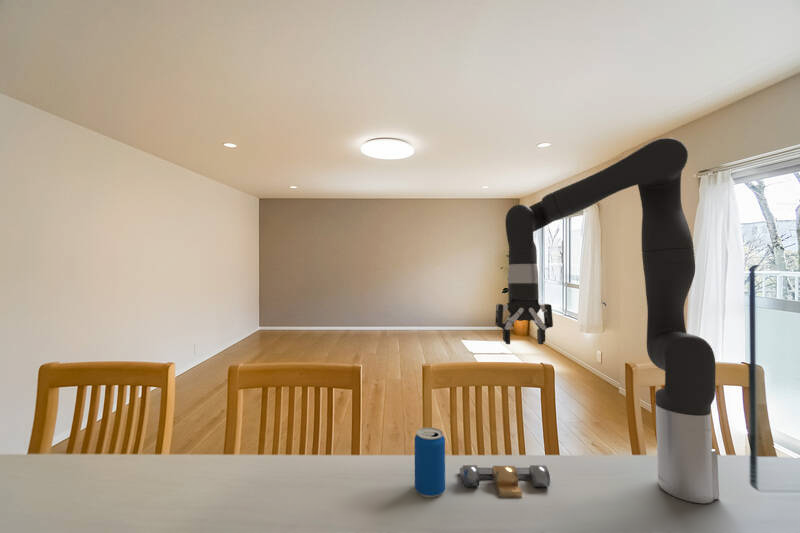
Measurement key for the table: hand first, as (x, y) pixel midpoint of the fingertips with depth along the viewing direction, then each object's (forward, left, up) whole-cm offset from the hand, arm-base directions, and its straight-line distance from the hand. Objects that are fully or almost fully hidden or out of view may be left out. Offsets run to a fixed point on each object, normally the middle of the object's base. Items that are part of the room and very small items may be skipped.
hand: (524, 344), depth 92 cm
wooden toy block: (+10, +15, -28) cm, 33 cm away
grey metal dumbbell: (+9, +13, -28) cm, 32 cm away
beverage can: (+26, +16, -28) cm, 42 cm away
